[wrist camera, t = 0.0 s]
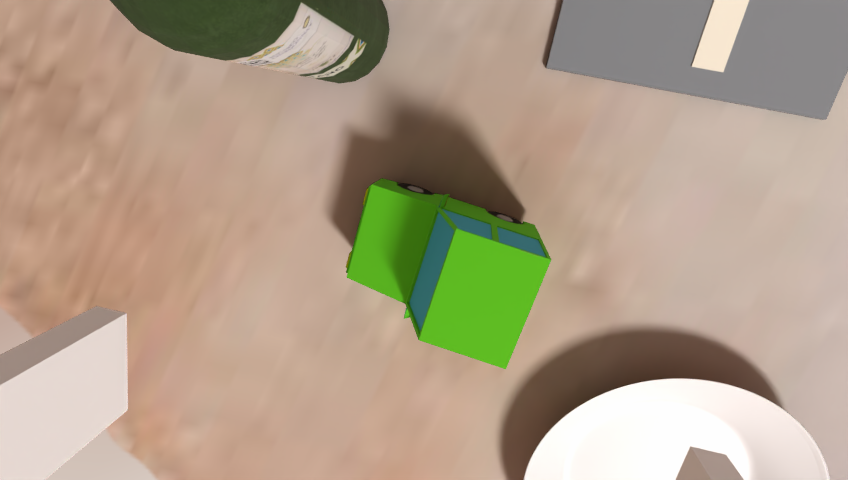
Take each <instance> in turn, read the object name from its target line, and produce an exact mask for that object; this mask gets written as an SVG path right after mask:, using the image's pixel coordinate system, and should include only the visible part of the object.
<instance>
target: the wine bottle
mask: <svg viewBox="0 0 848 480" xmlns="http://www.w3.org/2000/svg"><path fill="white" fill-rule="evenodd" d="M110 1H111V2H112V3H113V4H114V5H115V6H116V7H117V8H118V10H119V11H120V12H121V13H122V14H123V15H124V16H125V17H126V18H127V19H128V20H129V21H130V22H131V23H132V24H133V25H134V26H135V27H136V28H137V29H138V30H139V31H141V32H143V33H144V34H146V35H148V36H149V37H151V38H153V39H155V40H156V41H158V42H160V43H162V44H163V45H165V46H167V47H169V48H171V49H173V50H175V51H180V52H185V53H190V54H195V55H200V56H205V57H210V58H215V59H220V60H225V61H230V62H235V63H240V64H245V65H250V66H255V67H260V68H265V69H270V70H275V71H280V72H285V73H290V74H295V75H300V76H305V77H310V78H315V79H320V80H325V81H330V82H335V83H345V82H352V81H356V80H358V79H360V78H361V77H363V76H365V75H367V74H369V73H370V72H371V70H372V69H373V68H374V67H375V66H376V65H377V64H378V63H379V62H380V60H381V58H382V56H383V53H384V51H385V49H386V47H387V41H388V35H389V23H388V15H387V11H386V8H385V6H384V4H383V1H382V0H110Z"/></svg>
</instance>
